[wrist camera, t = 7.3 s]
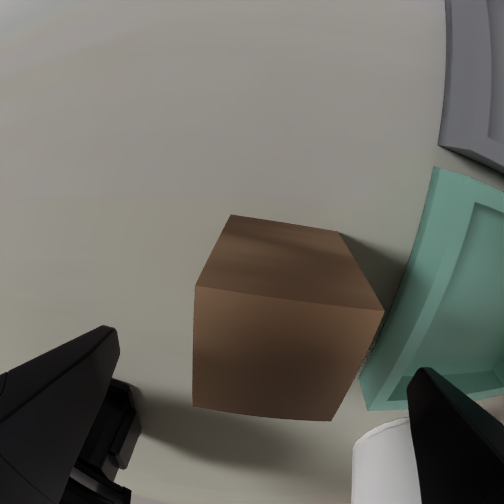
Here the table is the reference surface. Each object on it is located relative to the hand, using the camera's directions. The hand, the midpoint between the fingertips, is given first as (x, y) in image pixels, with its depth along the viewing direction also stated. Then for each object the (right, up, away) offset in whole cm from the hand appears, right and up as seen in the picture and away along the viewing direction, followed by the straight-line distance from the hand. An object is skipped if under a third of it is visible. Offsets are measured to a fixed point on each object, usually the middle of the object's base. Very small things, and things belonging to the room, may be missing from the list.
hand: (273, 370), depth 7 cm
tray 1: (+12, 0, +5) cm, 13 cm away
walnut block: (0, +2, +5) cm, 6 cm away
